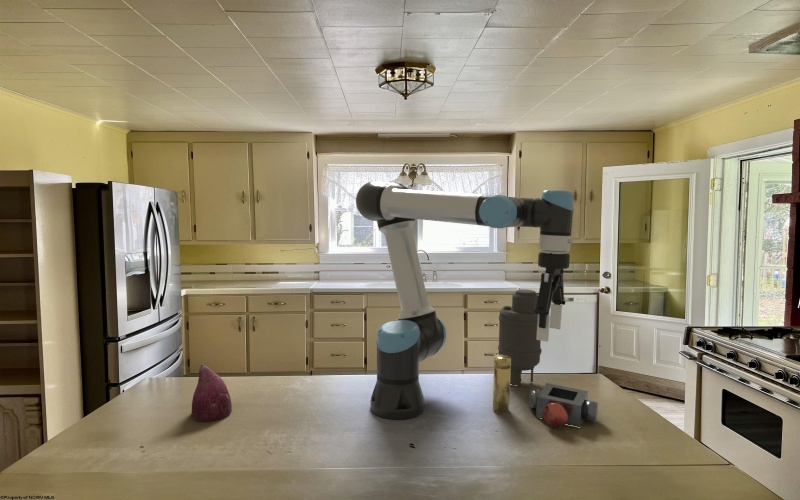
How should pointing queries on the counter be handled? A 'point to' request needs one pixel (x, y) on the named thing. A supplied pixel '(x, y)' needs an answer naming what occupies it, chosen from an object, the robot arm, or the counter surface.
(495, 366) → the fitting
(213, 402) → the vegetable
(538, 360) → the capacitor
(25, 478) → the counter surface
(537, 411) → the valve body
